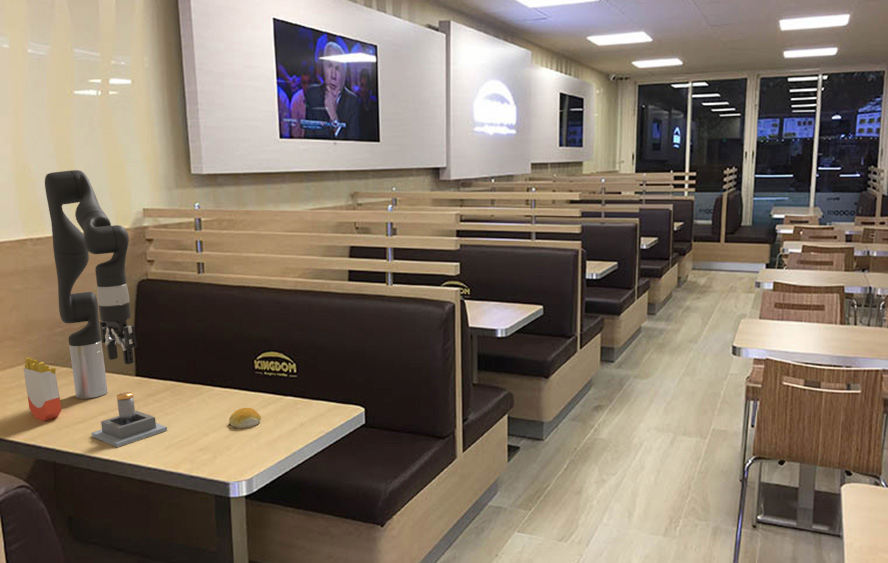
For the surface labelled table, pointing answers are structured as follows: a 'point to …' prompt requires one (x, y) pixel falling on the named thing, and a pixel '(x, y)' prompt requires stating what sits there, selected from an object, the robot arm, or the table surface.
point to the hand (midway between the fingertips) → (121, 361)
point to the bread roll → (244, 418)
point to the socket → (128, 429)
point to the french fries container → (42, 390)
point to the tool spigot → (126, 408)
